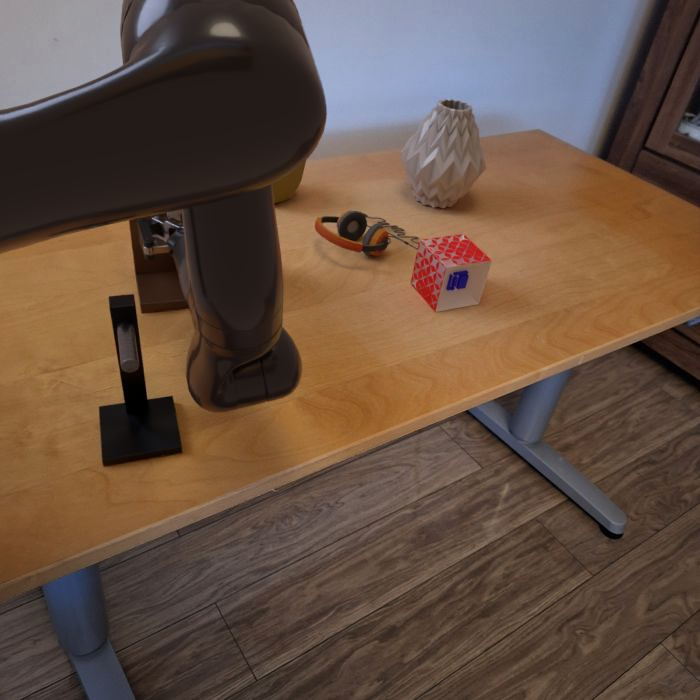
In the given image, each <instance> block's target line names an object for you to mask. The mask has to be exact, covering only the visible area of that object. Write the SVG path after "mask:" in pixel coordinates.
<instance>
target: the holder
mask: <svg viewBox="0 0 700 700" xmlns="http://www.w3.org/2000/svg"><path fill="white" fill-rule="evenodd" d="M108 306H109V308H108V309H109V313H110V319H111V326H112V332H113V333H112V334H113V338H114V345H115V350H116V357H117V363H118V370H119V375H120V377H119V378H120V384H121V389H122V395H123V401H124V402H121V403H120V402H119V403H113V404H107V405H99V406H98V415H99V416H98V418H99V432H100V449H101V451H100V452H101V462H102V466H103V467H109V466H115V465H119V464H125V463H130V462H136V461H142V460H143V461H144V460H149V459H154V458H160V457H165V456H171V455H177V454H182V453H183V445H182V439H181V434H180V428H179V423H178V418H177V412H176V406H175V401H174V396H173V395H168V396H161V397H155V398H148V392H147V383H146V376H145V368H144V359H143V353H142V344H141V337H140V331H139V321H138V312H137V306H136V298H135V294H134V293H130V294H128V293H127V294H120V295H119V294H118V295H109V296H108Z"/></svg>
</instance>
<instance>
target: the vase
mask: <svg viewBox="0 0 700 700" xmlns="http://www.w3.org/2000/svg"><path fill="white" fill-rule="evenodd" d="M437 101H438V102H436V106H435V107H431V110H430V112H429V113H428V114H427V115H426V116H425V117H423V119H422V120H421V122H420V124H419V126H418V128H417V129H416V131H415V132H414V134H412V135H411V136H410V137H409V138H408V140H407V142H406V143H405V145H404V146H403V148H402V150H401V151H400V157H401V161H402V164H403V167H404V173H405V177H406V180H407V183H408V186H409V188H410V189H411V190H412V196H413V197H415V201H416V202H420V203H421V204H422V206H429V207H431V208H433V209H434V208H440V209H445V208H447V207H448V208H452V207H453V206H454V204H457V203H458V200H459V199H462V198H464V197H465V195H467V193H468V192H469V191H470V190H471V189H472V187H473V186H474V185H475V183H476V182H477V181H478V180H479V178H480V177H481V176H482V174H483V173H484V172H485V171H486V170H487V165H486V160H485V159H486V158H485V153H484V149H483V147H482V145H481V140H480V128H479V126H478V124H477V122H476V118H475V117H476V116H475V114H474V113H473V107H472V105H470V104H468V102H462V101H461V100H460V99H458V100H455V99H453V98H451V99H446V98H444V99H443V100H441V99H439V100H437Z"/></svg>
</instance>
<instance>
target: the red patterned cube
mask: <svg viewBox="0 0 700 700" xmlns="http://www.w3.org/2000/svg"><path fill="white" fill-rule="evenodd" d="M418 243H419V244H417V245H418V246H417V248H418V250H417V249H416V250H417V251H416V255H415V260H414V266H413V269H412V274H411V279H410V285H411V286H412V287H413V289H415V291H416V292H417V293H418V294H419V295H420V297H421V298H422V299H423V300H424V301H425V302H426V303H427V305H428V306H429V307H430V308H431V309H432V310H433V311H434V312H435V313H439V312H443V311H449V310H455V309H461V308H466V307H470V306H477V305H480V303H481V299H482V295H483V292H484V289H485V285H486V283H487V282H486V281H487V279H488V277H489V276H488V275H489V272H490V269H491V265H492V262H493V260H492V259H491V258H490V257H489V256H488V255H487V254H486V253H485V252H484V251H483V250H482V249H481V248H479V247H478V246H477V245H476V244H475V243H474V242H473V241H472V240H471V239H470V238H469V237H468V236H467V235H465V234H464V233H463V234H462V233H461V234H454V235H446V236H439V237H437V236H436V237H431V238H422V239H419V242H418Z"/></svg>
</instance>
